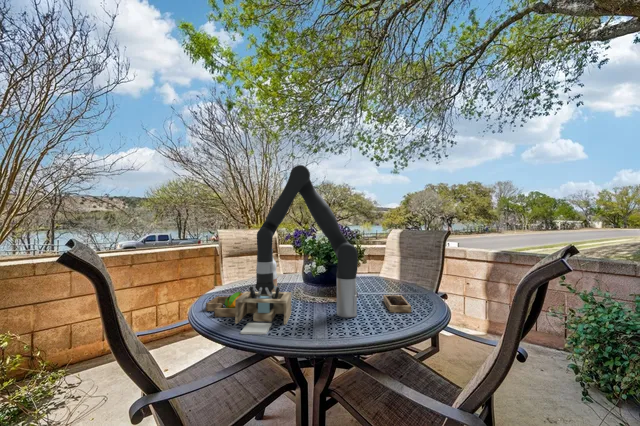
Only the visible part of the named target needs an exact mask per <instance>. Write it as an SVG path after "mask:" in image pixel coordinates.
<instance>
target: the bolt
mask: <svg viewBox="0 0 640 426" xmlns="http://www.w3.org/2000/svg"><path fill="white" fill-rule="evenodd" d="M387 299H388V300H389V302H390V303H391V305H404V306H408V305H407V303H406V302H405V301H404V300H399V301H398V300H397V298H396V297H395V296H392V297H391V296H389V297H387Z"/></svg>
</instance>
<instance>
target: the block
mask: <svg viewBox="0 0 640 426" xmlns="http://www.w3.org/2000/svg"><path fill="white" fill-rule="evenodd" d="M259 299H269V297H268V296H261V297H260V298H259ZM270 311H271V310H270V303H258V313H270Z"/></svg>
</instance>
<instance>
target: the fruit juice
mask: <svg viewBox="0 0 640 426" xmlns="http://www.w3.org/2000/svg"><path fill="white" fill-rule="evenodd" d="M272 251H273V252H274V249H273V248H272ZM277 267H278V265H277V262H276V260H275V258H274V257H273V283H274V286H278V273H277ZM272 292H276V291H275V289H274V288H273V290H272Z"/></svg>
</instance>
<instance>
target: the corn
mask: <svg viewBox="0 0 640 426" xmlns="http://www.w3.org/2000/svg"><path fill="white" fill-rule="evenodd" d="M242 293H243V292H242V291H237V292H234V293H233V294H231V295H229V296H227V297H228V298H227V299H226V301H225V304H224V305H225V308H235V300H236V299H237V298H238V297H240V296H241V295H242Z"/></svg>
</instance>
